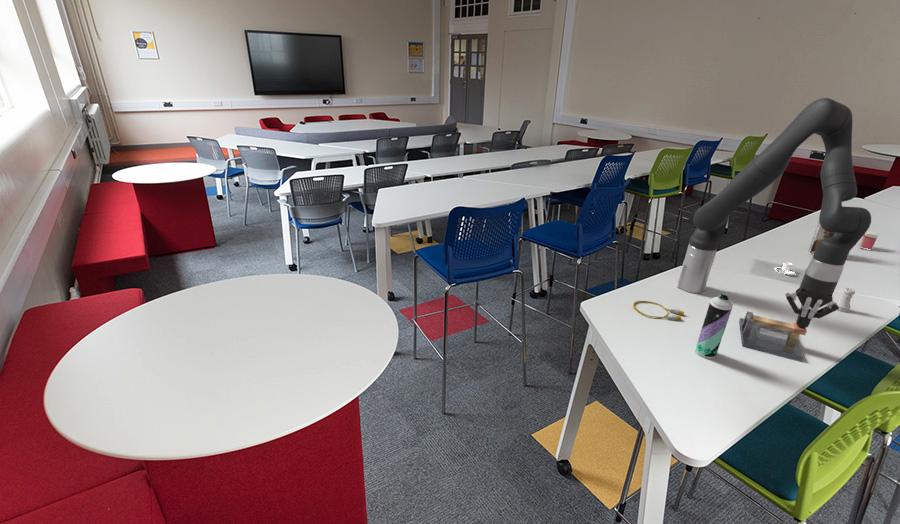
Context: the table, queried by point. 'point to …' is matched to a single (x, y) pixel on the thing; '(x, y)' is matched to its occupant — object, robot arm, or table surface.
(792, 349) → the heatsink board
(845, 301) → the rook chess piece
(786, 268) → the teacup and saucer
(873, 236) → the small box
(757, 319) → the lever
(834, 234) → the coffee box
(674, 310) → the extension cord
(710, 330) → the spray can
